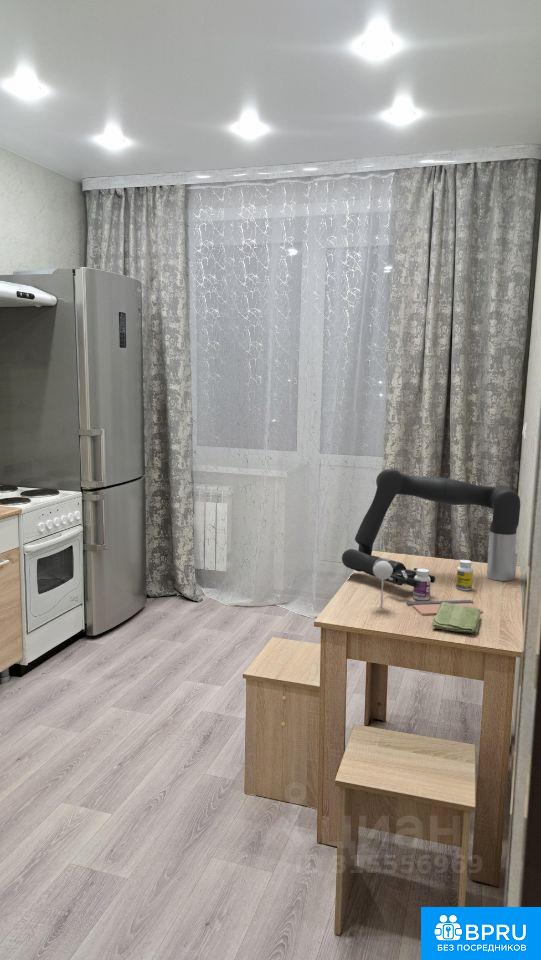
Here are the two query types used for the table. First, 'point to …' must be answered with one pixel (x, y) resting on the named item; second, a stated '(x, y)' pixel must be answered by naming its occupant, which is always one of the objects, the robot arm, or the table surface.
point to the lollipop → (382, 573)
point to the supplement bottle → (464, 575)
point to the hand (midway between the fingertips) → (425, 581)
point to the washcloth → (457, 618)
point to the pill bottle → (422, 585)
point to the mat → (437, 606)
